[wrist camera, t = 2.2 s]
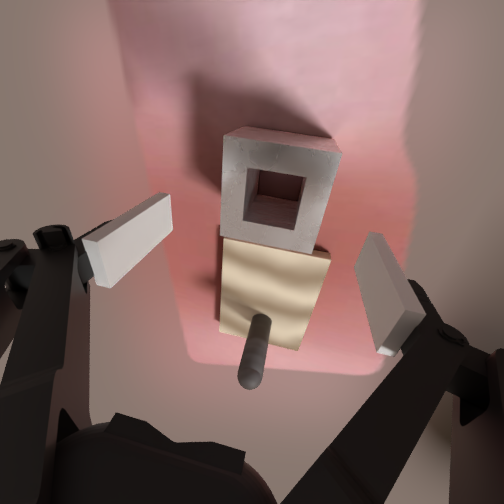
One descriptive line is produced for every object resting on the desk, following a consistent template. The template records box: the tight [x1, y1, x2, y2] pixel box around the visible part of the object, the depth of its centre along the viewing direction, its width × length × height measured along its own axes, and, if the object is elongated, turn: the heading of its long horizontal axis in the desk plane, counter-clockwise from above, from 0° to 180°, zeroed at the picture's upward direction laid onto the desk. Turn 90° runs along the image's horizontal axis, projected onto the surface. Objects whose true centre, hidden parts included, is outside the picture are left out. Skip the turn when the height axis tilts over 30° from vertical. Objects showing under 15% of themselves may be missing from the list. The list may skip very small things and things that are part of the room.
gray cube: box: [220, 126, 342, 254], centre depth 22 cm, size 9×9×7 cm
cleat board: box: [219, 237, 331, 390], centre depth 30 cm, size 18×13×12 cm
